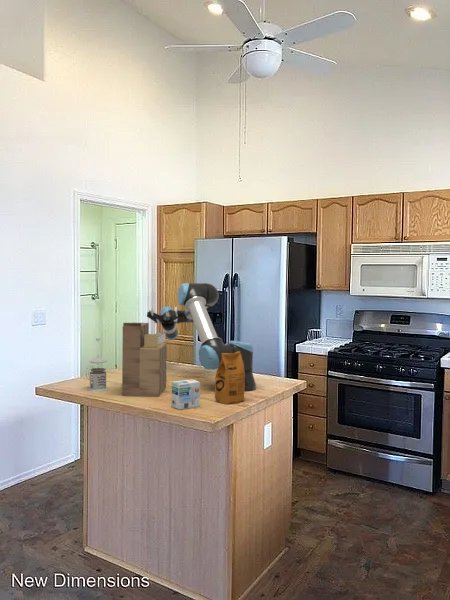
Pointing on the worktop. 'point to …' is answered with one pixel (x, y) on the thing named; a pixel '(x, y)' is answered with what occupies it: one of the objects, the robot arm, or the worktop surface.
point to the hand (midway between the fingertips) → (163, 308)
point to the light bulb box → (185, 394)
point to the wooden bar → (153, 340)
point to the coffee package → (230, 379)
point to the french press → (97, 375)
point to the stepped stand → (142, 363)
